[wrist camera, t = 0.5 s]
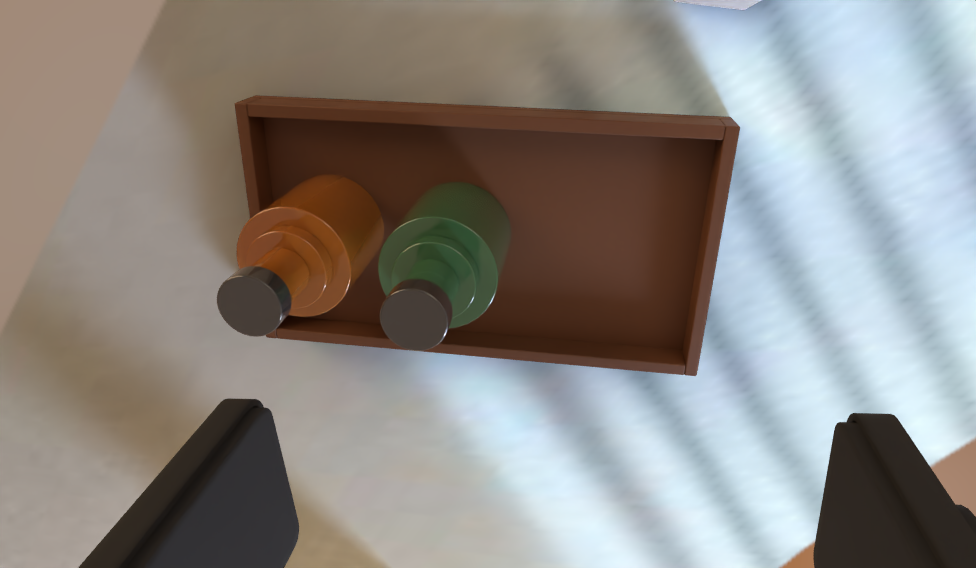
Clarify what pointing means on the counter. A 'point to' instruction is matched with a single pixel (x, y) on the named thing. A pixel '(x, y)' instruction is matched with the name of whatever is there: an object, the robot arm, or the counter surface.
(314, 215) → the amber bottle
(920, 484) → the robot arm
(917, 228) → the counter surface
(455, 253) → the green bottle
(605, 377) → the counter surface
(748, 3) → the flask
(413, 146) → the tray
